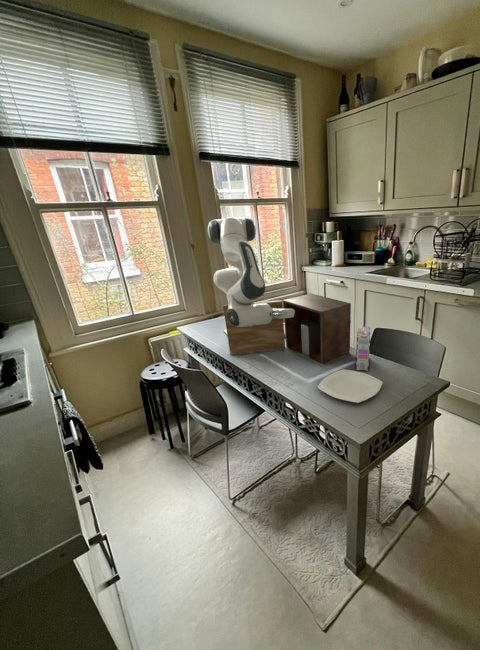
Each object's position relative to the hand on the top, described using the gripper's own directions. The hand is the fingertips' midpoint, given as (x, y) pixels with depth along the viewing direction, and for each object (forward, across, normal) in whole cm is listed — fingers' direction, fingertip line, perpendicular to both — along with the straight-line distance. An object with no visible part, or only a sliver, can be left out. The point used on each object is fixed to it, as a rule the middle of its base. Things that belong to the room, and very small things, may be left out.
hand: (286, 311), depth 143 cm
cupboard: (+20, -1, +22) cm, 30 cm away
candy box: (+22, -27, +25) cm, 43 cm away
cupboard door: (+3, +26, +21) cm, 34 cm away
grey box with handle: (+17, -1, +22) cm, 27 cm away
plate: (+1, -34, +30) cm, 45 cm away
